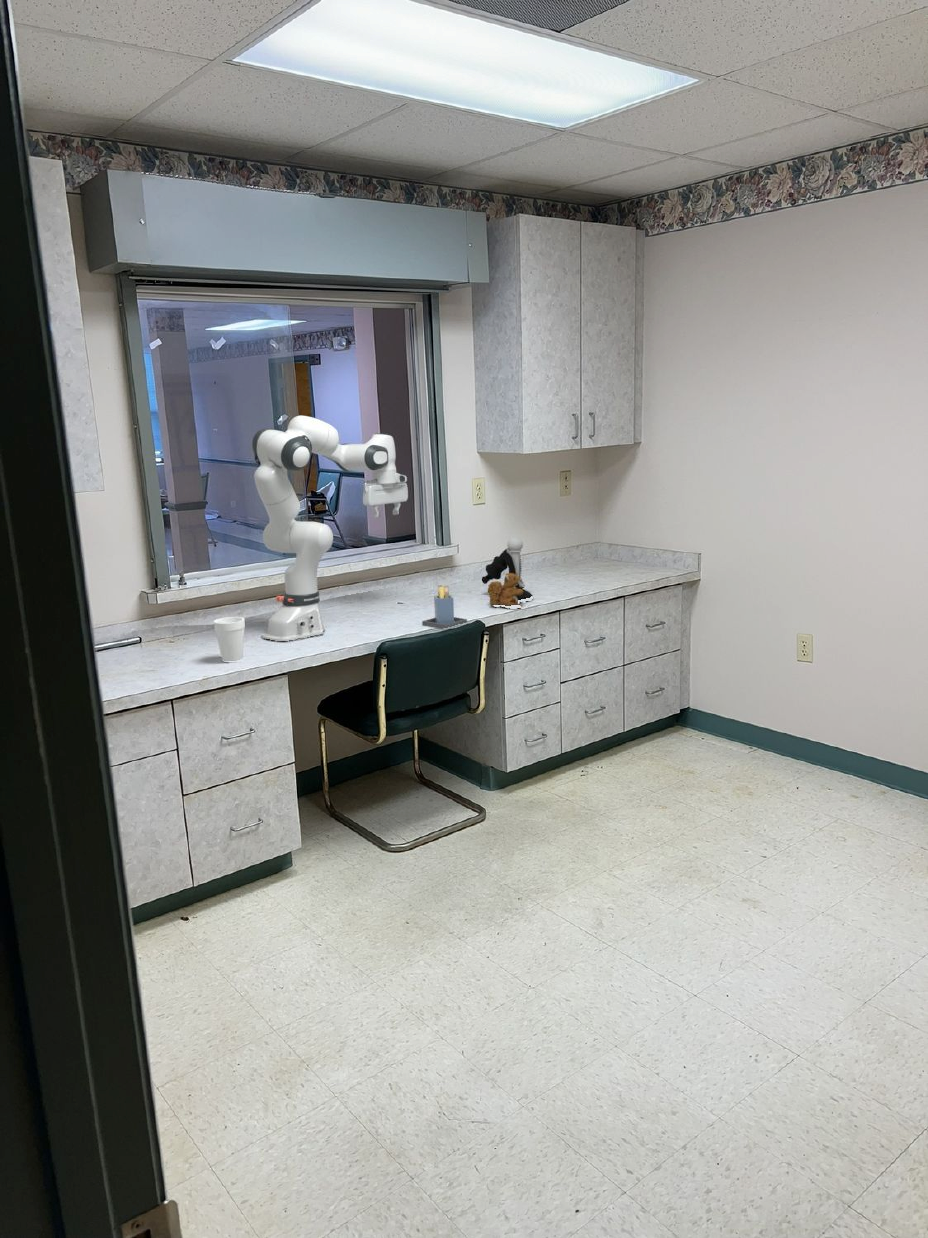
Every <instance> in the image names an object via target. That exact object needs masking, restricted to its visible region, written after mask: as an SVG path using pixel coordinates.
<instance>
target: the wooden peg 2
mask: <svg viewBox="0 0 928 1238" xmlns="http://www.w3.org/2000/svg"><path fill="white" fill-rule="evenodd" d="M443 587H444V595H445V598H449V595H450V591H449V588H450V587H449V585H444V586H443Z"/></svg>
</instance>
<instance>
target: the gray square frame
mask: <svg viewBox="0 0 928 1238" xmlns="http://www.w3.org/2000/svg"><path fill="white" fill-rule="evenodd" d="M466 622H467V623H468V619H466V618H462V617H456V616H454V622H453V623H450V624H446V625H444V624H439V623H435V617H433V618H429V619H425V620H422V624H421V625H422V626H423V627H428V628H433V629H434V628H435V629H441V630H444V629H443V628H448V627H452V626H455V625H458V624H463V623H466Z"/></svg>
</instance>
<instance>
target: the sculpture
mask: <svg viewBox="0 0 928 1238" xmlns="http://www.w3.org/2000/svg"><path fill="white" fill-rule="evenodd" d="M506 545H507V546H506V548H505V549H504V550H503V551H502V552H501V553H500V554H499V555H497V556H495V557H494V558H493V560H492V562H491V563H490V564H486V565H485V571H486V573H487V574H486V575H485V576H484V575H483V576H481V577H482V578H481V582H482V583H483V584H484V585H487V584H488V583H489V582H490V581H492V580H500V579H501V578H502V573H503V572H504V571H505V570H507V569H508V573H514V574H516V575H517V576H519V578H520V582H519V583H520V585H519V584H518V585H516V586H515V587H516V588H517V589H522V590H523V594H522V595H516V596H517V598H518V600H521V599H526V598H530V597H531V596H534V595H533V594H532V593H531V592H530V591H528V590H527V589H524V588H525V586H526V584H525V582H524V581H523V578H522V569H523V568H522V567H523V565H522V564H523V563H522V557H521V552H522V549H523V546H524V543H523V540H522V539H520V538H519V537H512V538H510V539H508V541H507V543H506Z"/></svg>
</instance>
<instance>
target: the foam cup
mask: <svg viewBox="0 0 928 1238" xmlns="http://www.w3.org/2000/svg"><path fill="white" fill-rule="evenodd" d="M245 623H246V621H245V618H244V617H241V616H228V617H227V616H226V617H220V618H217V619H215V620H213V629H214V630H215V635H216V638H217V643H218V649H219V652H220V655H221V657H220V658H221V660H222V661H223V660H224V661H237V660H240V659H242V658H243V659H244V647H245V645H244V643H245V628H246V624H245Z"/></svg>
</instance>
